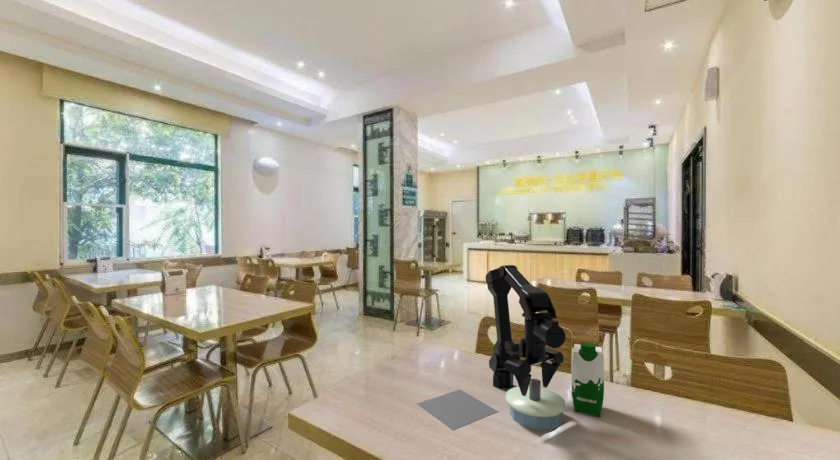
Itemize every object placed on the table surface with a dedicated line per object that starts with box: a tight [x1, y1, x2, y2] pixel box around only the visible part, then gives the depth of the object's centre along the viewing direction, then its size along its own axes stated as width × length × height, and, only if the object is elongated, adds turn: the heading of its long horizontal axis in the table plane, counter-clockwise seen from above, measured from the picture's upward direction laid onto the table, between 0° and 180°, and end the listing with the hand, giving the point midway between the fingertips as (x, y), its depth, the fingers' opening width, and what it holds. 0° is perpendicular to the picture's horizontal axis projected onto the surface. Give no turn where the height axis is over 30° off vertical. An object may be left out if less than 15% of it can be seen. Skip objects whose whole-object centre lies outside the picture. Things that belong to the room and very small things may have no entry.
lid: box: [505, 378, 566, 417], centre depth 103 cm, size 16×16×6 cm
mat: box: [416, 389, 499, 431], centre depth 107 cm, size 17×17×1 cm
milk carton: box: [571, 341, 605, 418], centre depth 109 cm, size 9×9×20 cm
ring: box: [509, 406, 561, 433], centre depth 103 cm, size 13×13×5 cm
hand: (534, 391), depth 103 cm, fingers open, 9 cm apart
